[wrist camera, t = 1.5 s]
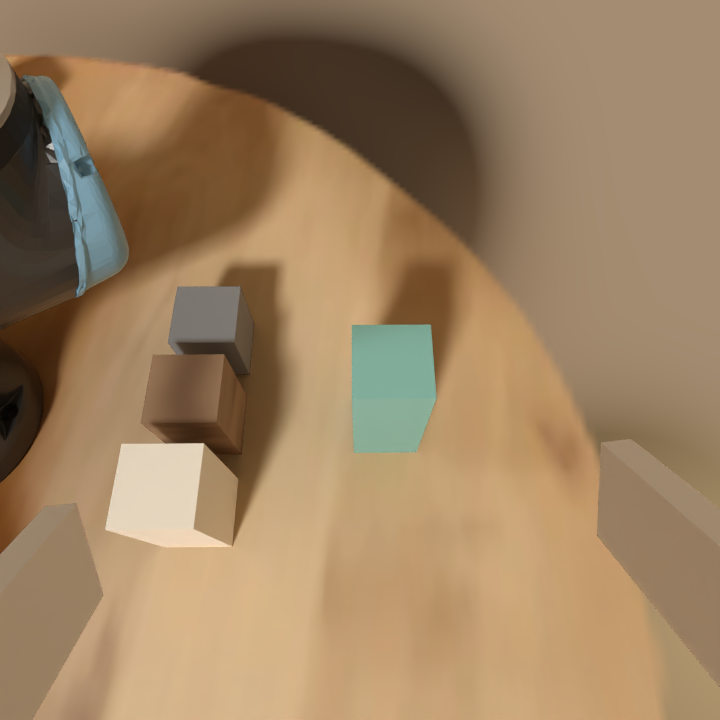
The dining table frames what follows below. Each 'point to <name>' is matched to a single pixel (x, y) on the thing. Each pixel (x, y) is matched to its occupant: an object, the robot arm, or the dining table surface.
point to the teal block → (391, 386)
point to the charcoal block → (213, 324)
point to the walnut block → (195, 402)
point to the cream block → (173, 496)
